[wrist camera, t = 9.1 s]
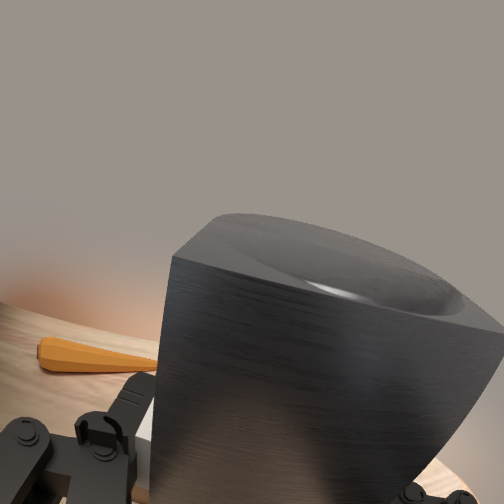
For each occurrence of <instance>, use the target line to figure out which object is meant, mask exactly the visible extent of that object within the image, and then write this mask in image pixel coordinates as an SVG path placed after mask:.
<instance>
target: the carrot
mask: <svg viewBox="0 0 504 504" xmlns="http://www.w3.org/2000/svg"><path fill="white" fill-rule="evenodd" d="M37 359H39V362H40V365H41V367H43V368H45V369H48V370H50V371H59V372H133V371H151V370H157V362H158V361H155V360H151V359H147V358H142V357H136V356H131V355H126V354H121V353H117V352H112V351H108V350H103V349H99V348H94V347H90V346H86V345H82V344H78V343H74V342H70V341H66V340H63V339H59V338H55V337H47V338H42V340H41V342H40V344H39V345H38V347H37Z"/></svg>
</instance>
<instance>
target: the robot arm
mask: <svg viewBox="0 0 504 504" xmlns="http://www.w3.org/2000/svg"><path fill="white" fill-rule="evenodd" d="M155 382H156V376H154V375H151V374H148V373H145V372H142V371H139V372H138V373H136V374H134V375H133V376H131V377H129V379H128V380H127V382H126V383H125V385H124V386H123V388H122V390H121V391H120V393H119V394H118V396H117V398H116V399H115V401H114V402H113V404H112V405H111V407H110V408H109V410H108V412H100V411H93V412H89V413H85V414H84V415H82V416H81V417H79V418H78V419H77V421H76V423H75V424H74V426H75V431H76V436H77V438H74V437H66V436H61V435H56V434H51V433H49V431H48V430H47V428H46V426H45V425H44V424H43V423H41V422H40V421H39V420H36V419H34V418H31V417H20V418H17V419H14V420H13V421H11V422H10V423H9V424H8V425H7V426H6V427H5V428H4V430H3V431H2V432H1V433H0V504H59V503H60V501H61V499H62V497H67V500H66V504H132V494H131V492H132V489H133V487H134V484H135V482H136V486H137V487H140V488H143V489H146V490H149V475H150V450H151V432H152V417H153V404H154V392H155ZM390 504H478V503H477V501H476V499H475V498H474V496H473V495H471V494H470V493H469V492H467V491H464V490H456V491H454V492H452V493H451V494H450V495H449V496H448V497H447V498H440V497H434V496H429V495H426V492H425V491H424V489H423V488H422V487H421V486H420V485H418V484H417V483H415V482H412V483H411V484H410V485H409V486H408V487H407V488H406V489H405V490H404V491H403V492H402V493H401V494H400V495H399V496H398V497H397V498H395V499H394V500H393V501H392V502H391V503H390Z"/></svg>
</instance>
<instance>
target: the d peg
mask: <svg viewBox="0 0 504 504" xmlns="http://www.w3.org/2000/svg"><path fill="white" fill-rule="evenodd" d="M503 357H504V327H503V326H502V325H501V324H500V323H499V322H497V321H496V320H495V319H494V318H492V317H491V316H490V315H489V314H488V313H486V312H485V311H484V310H483V309H481V308H480V307H479V306H478V305H477V304H475V303H474V302H473V301H471V300H470V299H469V298H468V297H466V296H465V295H464V294H462V293H461V292H460V291H459V290H457V289H456V288H455V287H453V286H452V285H451V284H449V283H448V282H447V281H445V280H444V279H442V278H441V277H439V276H438V275H436V274H435V273H433V272H432V271H430V270H428V269H426V268H425V267H423V266H421V265H419V264H417V263H415V262H413V261H411V260H409V259H407V258H405V257H403V256H401V255H398V254H396V253H394V252H392V251H390V250H387V249H385V248H382V247H380V246H377V245H375V244H372V243H369V242H367V241H364V240H361V239H358V238H355V237H352V236H349V235H346V234H343V233H340V232H337V231H333V230H330V229H326V228H323V227H319V226H315V225H311V224H307V223H303V222H298V221H294V220H289V219H284V218H278V217H272V216H265V215H256V214H226V215H221V216H218V217H216V218H214V219H213V220H212V221H211V222H210V223H208V224H207V225H206V226H205V227H204V228H203V229H202V230H201V231H199V232H198V233H197V234H196V235H195V236H194V237H193V238H191V239H190V240H189V241H188V242H187V243H186V244H185V245H184V246H183V247H181V248H180V249H179V250H178V251H177V252H176V253H175V254H174V255H173V256H172V262H171V268H170V274H169V280H168V287H167V293H166V300H165V307H164V314H163V321H162V329H161V336H160V345H159V353H158V362H157V372H156V382H155V392H154V404H153V417H152V432H151V450H150V475H149V504H390V503H391V502H392V501H393V500H394V499H395V498H397V497H398V496H399V495H400V494H401V493H402V492H403V491H404V490H405V489H406V488H407V487H408V486H409V485H410V484H411V483H412V482H413V481H414V479H415V478H416V477H417V476H418V475H419V474H420V473H421V472H422V471H423V470H424V469H425V468H426V466H427V465H428V464H429V463H430V462H431V461H432V460H433V458H434V457H435V456H436V455H437V454H438V453H439V451H440V450H441V449H442V448H443V447H444V445H445V444H446V443H447V441H448V440H449V439H450V438H451V436H452V435H453V434H454V432H455V431H456V430H457V428H458V427H459V426H460V425H461V423H462V422H463V420H464V419H465V418H466V416H467V415H468V413H469V412H470V411H471V409H472V408H473V406H474V405H475V403H476V402H477V400H478V399H479V397H480V396H481V394H482V392H483V391H484V389H485V388H486V386H487V384H488V383H489V381H490V379H491V378H492V376H493V374H494V373H495V371H496V369H497V367H498V366H499V364H500V362H501V360H502V358H503Z"/></svg>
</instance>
